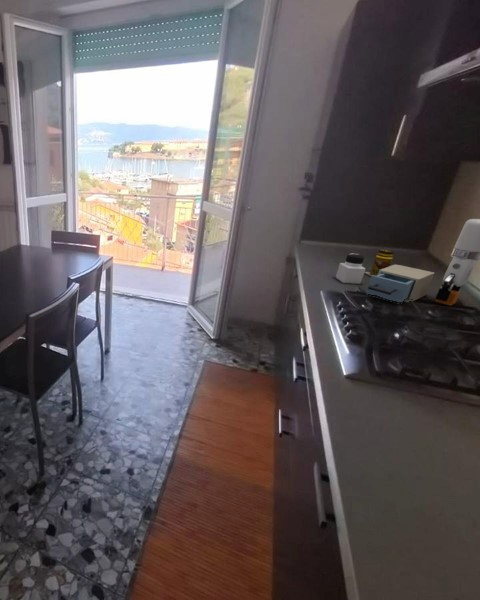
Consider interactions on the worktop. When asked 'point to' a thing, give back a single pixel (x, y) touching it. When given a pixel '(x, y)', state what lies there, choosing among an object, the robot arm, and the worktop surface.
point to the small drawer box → (419, 275)
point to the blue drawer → (390, 287)
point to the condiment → (381, 261)
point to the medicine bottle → (351, 269)
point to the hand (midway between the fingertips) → (445, 297)
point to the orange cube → (450, 298)
